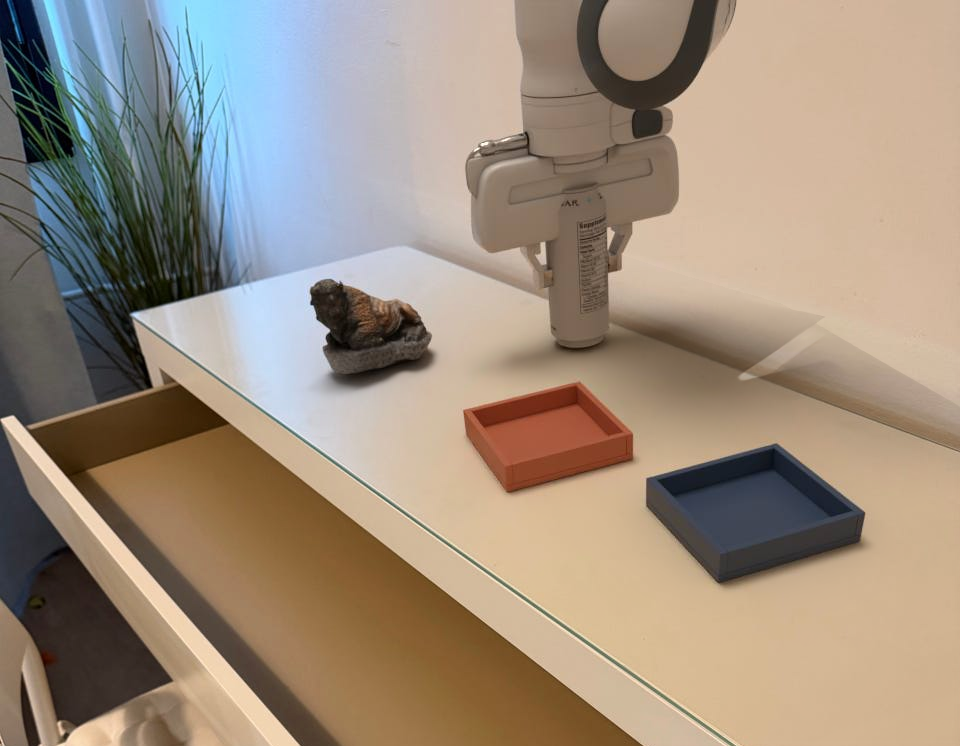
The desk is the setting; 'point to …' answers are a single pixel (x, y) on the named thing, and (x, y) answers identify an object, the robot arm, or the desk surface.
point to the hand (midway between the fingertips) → (578, 278)
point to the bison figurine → (366, 328)
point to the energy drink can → (579, 270)
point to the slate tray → (752, 511)
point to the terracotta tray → (547, 435)
